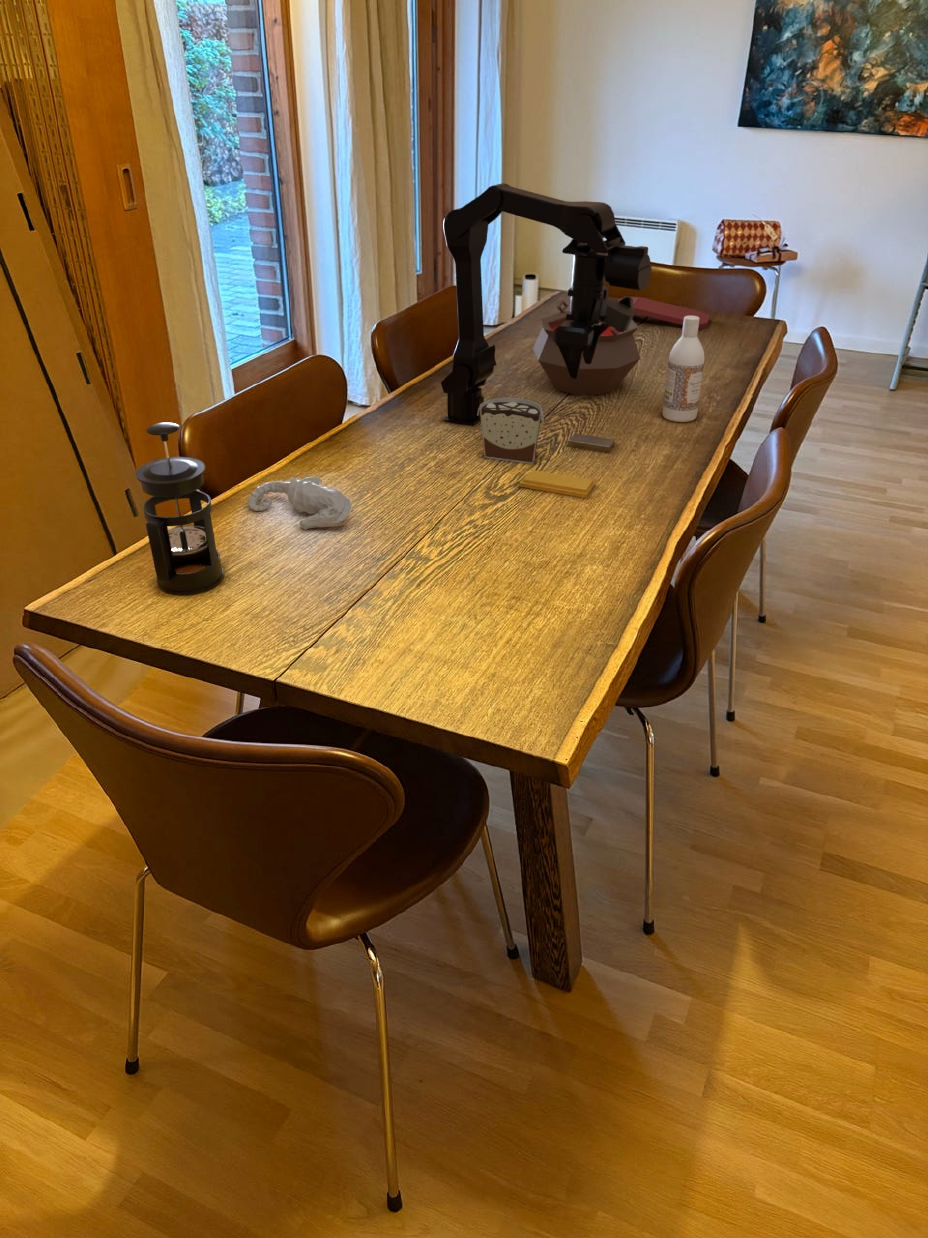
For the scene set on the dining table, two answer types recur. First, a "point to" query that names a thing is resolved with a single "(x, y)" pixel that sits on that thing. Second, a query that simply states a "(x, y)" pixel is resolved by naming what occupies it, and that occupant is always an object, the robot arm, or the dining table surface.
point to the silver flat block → (591, 442)
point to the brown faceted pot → (593, 379)
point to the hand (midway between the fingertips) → (581, 370)
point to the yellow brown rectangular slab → (557, 483)
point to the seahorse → (307, 501)
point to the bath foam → (684, 375)
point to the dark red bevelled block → (667, 311)
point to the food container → (510, 429)
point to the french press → (179, 522)
